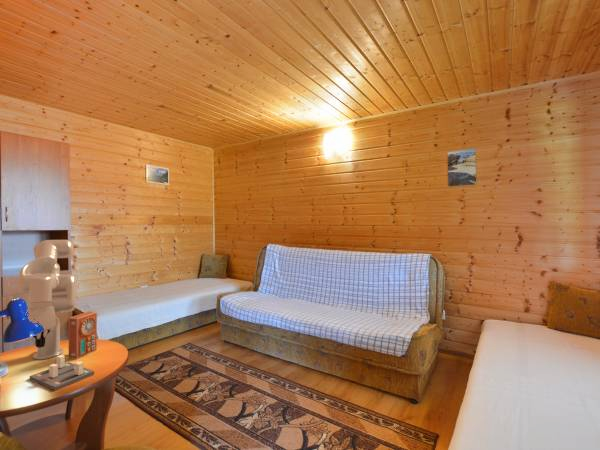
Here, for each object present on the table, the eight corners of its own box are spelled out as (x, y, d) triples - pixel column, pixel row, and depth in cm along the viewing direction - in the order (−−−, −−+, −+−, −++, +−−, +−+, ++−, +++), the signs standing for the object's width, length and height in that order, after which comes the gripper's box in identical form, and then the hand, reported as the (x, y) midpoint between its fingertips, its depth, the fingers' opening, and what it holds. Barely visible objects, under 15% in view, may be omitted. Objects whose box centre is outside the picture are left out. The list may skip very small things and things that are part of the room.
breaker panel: (29, 379, 141) (29, 375, 141) (68, 365, 156) (68, 361, 156) (55, 390, 132) (55, 386, 132) (94, 374, 146) (94, 371, 146)
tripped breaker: (49, 376, 140) (49, 365, 140) (54, 374, 142) (54, 363, 142) (52, 377, 139) (53, 366, 139) (58, 375, 141) (58, 364, 141)
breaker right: (74, 373, 143) (74, 362, 143) (79, 371, 145) (79, 361, 145) (78, 375, 142) (78, 364, 142) (83, 373, 144) (83, 362, 143)
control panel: (99, 349, 175) (75, 360, 161) (89, 348, 177) (64, 359, 162) (100, 311, 175) (76, 319, 161) (89, 310, 177) (64, 318, 162)
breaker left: (56, 366, 150) (56, 356, 150) (61, 365, 151) (61, 354, 151) (60, 368, 148) (60, 357, 148) (64, 366, 150) (64, 356, 150)
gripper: (55, 300, 144) (55, 339, 144) (14, 307, 131) (14, 351, 131) (64, 301, 141) (64, 342, 141) (24, 309, 127) (23, 354, 127)
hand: (40, 346), depth 136 cm, fingers closed
